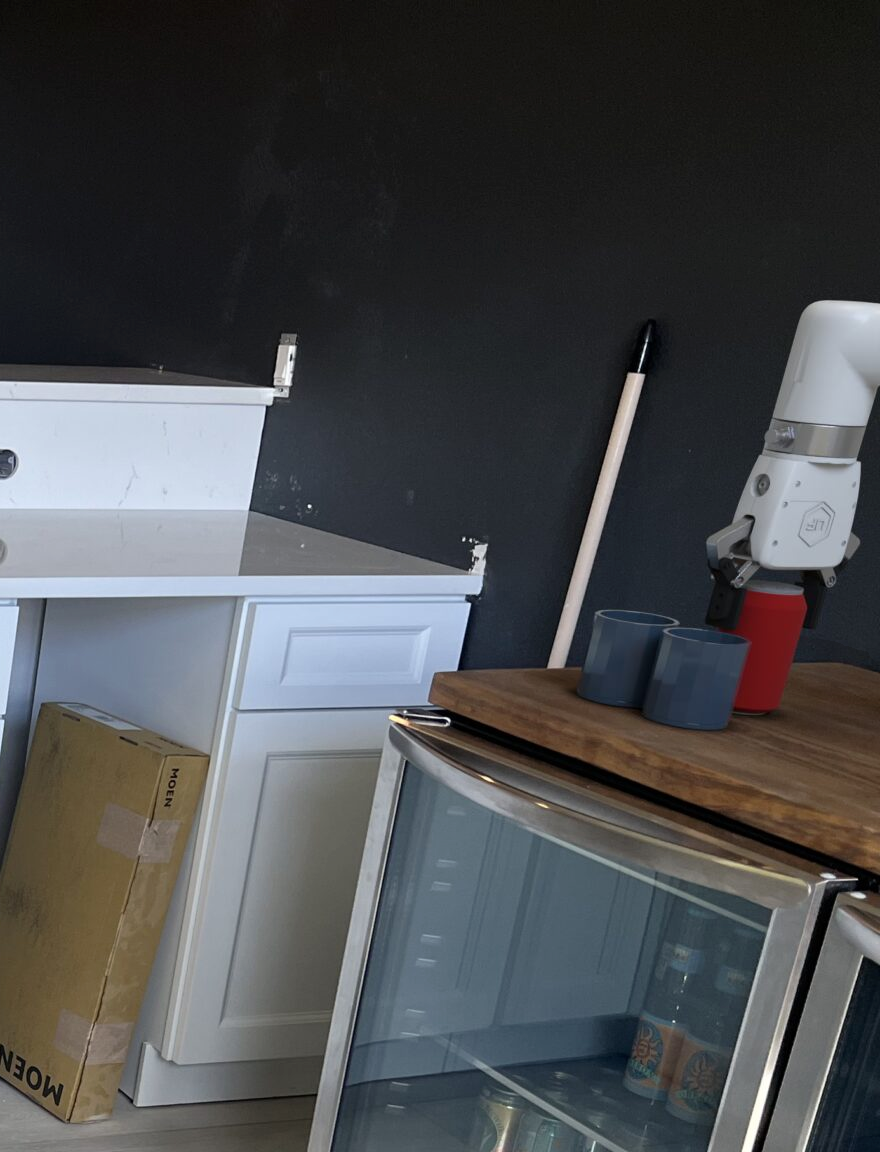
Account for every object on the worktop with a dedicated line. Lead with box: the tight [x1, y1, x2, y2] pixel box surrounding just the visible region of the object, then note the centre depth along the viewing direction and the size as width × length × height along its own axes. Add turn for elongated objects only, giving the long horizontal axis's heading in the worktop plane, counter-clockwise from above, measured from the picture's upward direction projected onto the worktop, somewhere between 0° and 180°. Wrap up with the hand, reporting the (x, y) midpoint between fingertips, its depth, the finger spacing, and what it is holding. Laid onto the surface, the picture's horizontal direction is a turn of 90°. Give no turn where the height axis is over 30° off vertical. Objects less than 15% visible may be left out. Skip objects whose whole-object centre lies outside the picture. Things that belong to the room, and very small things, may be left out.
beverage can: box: [717, 579, 807, 716], centre depth 180 cm, size 7×7×12 cm
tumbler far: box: [576, 609, 681, 709], centre depth 182 cm, size 7×7×8 cm
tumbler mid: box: [641, 627, 752, 731], centre depth 175 cm, size 7×7×8 cm
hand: (759, 626), depth 179 cm, fingers open, 9 cm apart
